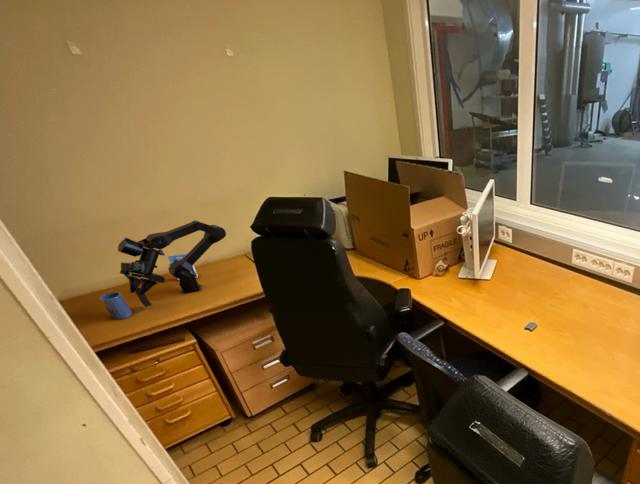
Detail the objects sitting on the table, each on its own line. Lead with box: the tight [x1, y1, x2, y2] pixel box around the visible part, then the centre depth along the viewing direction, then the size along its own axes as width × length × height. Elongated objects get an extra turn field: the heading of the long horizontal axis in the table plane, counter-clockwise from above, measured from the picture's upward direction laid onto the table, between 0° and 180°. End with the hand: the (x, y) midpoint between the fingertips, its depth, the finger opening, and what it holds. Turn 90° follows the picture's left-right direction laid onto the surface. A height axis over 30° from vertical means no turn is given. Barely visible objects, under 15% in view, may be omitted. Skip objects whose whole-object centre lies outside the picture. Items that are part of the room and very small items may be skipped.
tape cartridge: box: [167, 253, 199, 282], centre depth 203 cm, size 9×4×12 cm, turn 119°
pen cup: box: [99, 291, 133, 320], centre depth 173 cm, size 7×7×10 cm
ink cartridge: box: [134, 287, 152, 308], centre depth 178 cm, size 5×2×8 cm, turn 52°
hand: (136, 293), depth 176 cm, fingers closed on ink cartridge, 5 cm apart
